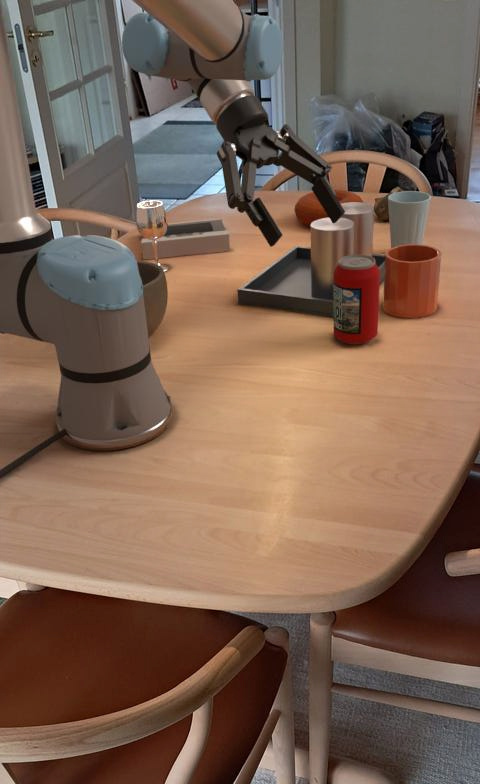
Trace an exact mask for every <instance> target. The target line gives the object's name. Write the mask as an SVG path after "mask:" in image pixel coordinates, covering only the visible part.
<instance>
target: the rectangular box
mask: <svg viewBox="0 0 480 784" xmlns="http://www.w3.org/2000/svg"><path fill="white" fill-rule="evenodd" d="M140 241H141V242H140V243H141V250H142V257H143V261H145V260H153V259H154V260H155V253H154V249H153V247H152V242H153V240H150V239H146V238H144V237H142V236H141V240H140ZM156 242H157V258H158V259H164V258H173V257H182V256H183V257H184V256H192V255H193V256H194V255H201V254H202V255H203V254H213V253H223V252H230V250H231V248H230V234H229V231H227V230H226V228H225V225H224V223H223V219H222V218H212V219H203V220H192V221H182V222H172V223H171V222H170V223H168V226H167V231H166V233H165V234H164V235H163V236H162V237H161V238H159V239H156Z"/></svg>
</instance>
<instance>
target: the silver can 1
mask: <svg viewBox="0 0 480 784" xmlns="http://www.w3.org/2000/svg"><path fill="white" fill-rule="evenodd" d="M310 247H311V296H312V298H320V299H328V300H333V286H334V270H335V268H336V267H337V265H338V261H339V259H341V258H342V257H345V256H349V255H354V222H353V221H352V220H350V219H346V218H340V219H339V220H338V221H337V222H336V223H332V221H331V220H330V218H323V219H319V220H316V221H314V222H312V223H311V226H310Z"/></svg>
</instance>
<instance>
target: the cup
mask: <svg viewBox="0 0 480 784" xmlns="http://www.w3.org/2000/svg"><path fill="white" fill-rule="evenodd" d="M403 191H404V192H397V193H393V194H391V195H389V196H388V207H389V219H388V221H389V235H390V236H389V237H390V248H393V247H395V246H401V245H410V244H418V245H424V239H425V234H426V228H427V221H428V216H429V210H430V205H431V199H432V195H431V194H429V193H427V192H423V191H417V190H403Z"/></svg>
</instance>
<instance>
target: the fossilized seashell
mask: <svg viewBox="0 0 480 784" xmlns="http://www.w3.org/2000/svg"><path fill="white" fill-rule="evenodd" d="M404 191H405V190H403V188H401V187H399V186H396V187H395V188H393V189H392V190H391V191H390V192H389V193H387V194H386V195H384V196H382V197H381V196H380V197H376V198H374V204H373V207H374V214H375V215H376V216H377V217H378V218H379V219H380V220H384V221H387V220H388V221H389V207H388V196H389V195H391V194H393V193H397V192H404Z"/></svg>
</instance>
